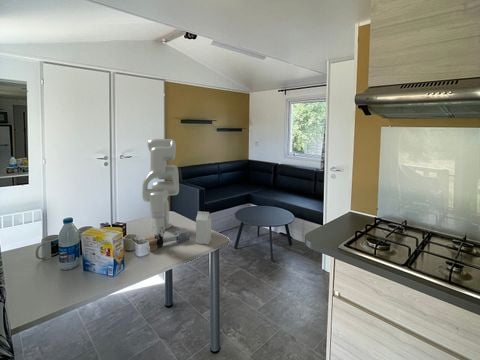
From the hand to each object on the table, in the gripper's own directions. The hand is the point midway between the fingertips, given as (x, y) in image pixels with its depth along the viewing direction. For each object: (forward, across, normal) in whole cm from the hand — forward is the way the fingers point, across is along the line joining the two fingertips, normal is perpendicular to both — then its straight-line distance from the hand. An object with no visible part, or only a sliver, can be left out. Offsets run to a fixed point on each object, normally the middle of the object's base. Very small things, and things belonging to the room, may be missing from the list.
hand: (158, 243), depth 160 cm
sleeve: (+2, 0, +14) cm, 15 cm away
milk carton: (+2, +9, +24) cm, 26 cm away
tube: (+1, 0, +4) cm, 4 cm away
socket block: (+2, 0, -4) cm, 5 cm away
